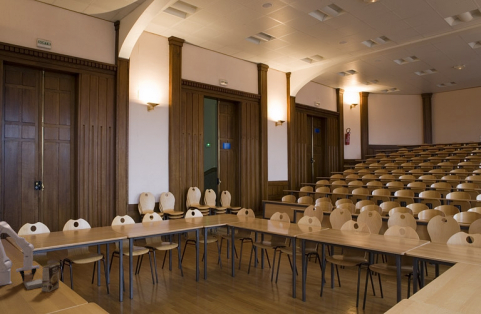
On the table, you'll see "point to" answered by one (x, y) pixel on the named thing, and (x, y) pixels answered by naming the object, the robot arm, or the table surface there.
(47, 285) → the coffee box
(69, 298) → the table surface
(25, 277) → the walnut block
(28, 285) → the grey box
